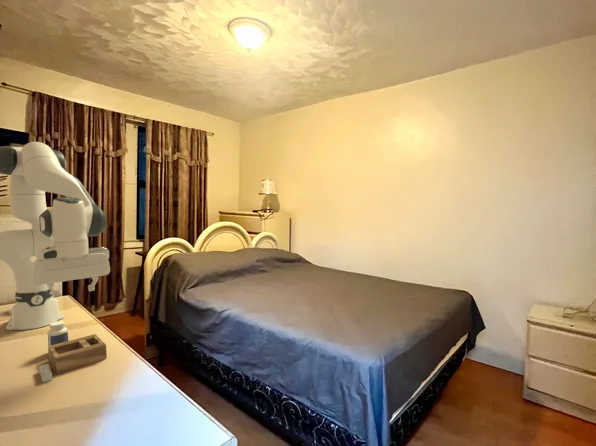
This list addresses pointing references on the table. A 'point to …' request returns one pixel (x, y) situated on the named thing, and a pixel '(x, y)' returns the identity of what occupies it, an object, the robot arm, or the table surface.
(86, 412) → the table surface
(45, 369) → the slim grey peg
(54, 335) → the pill bottle
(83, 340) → the wooden compartment tray
